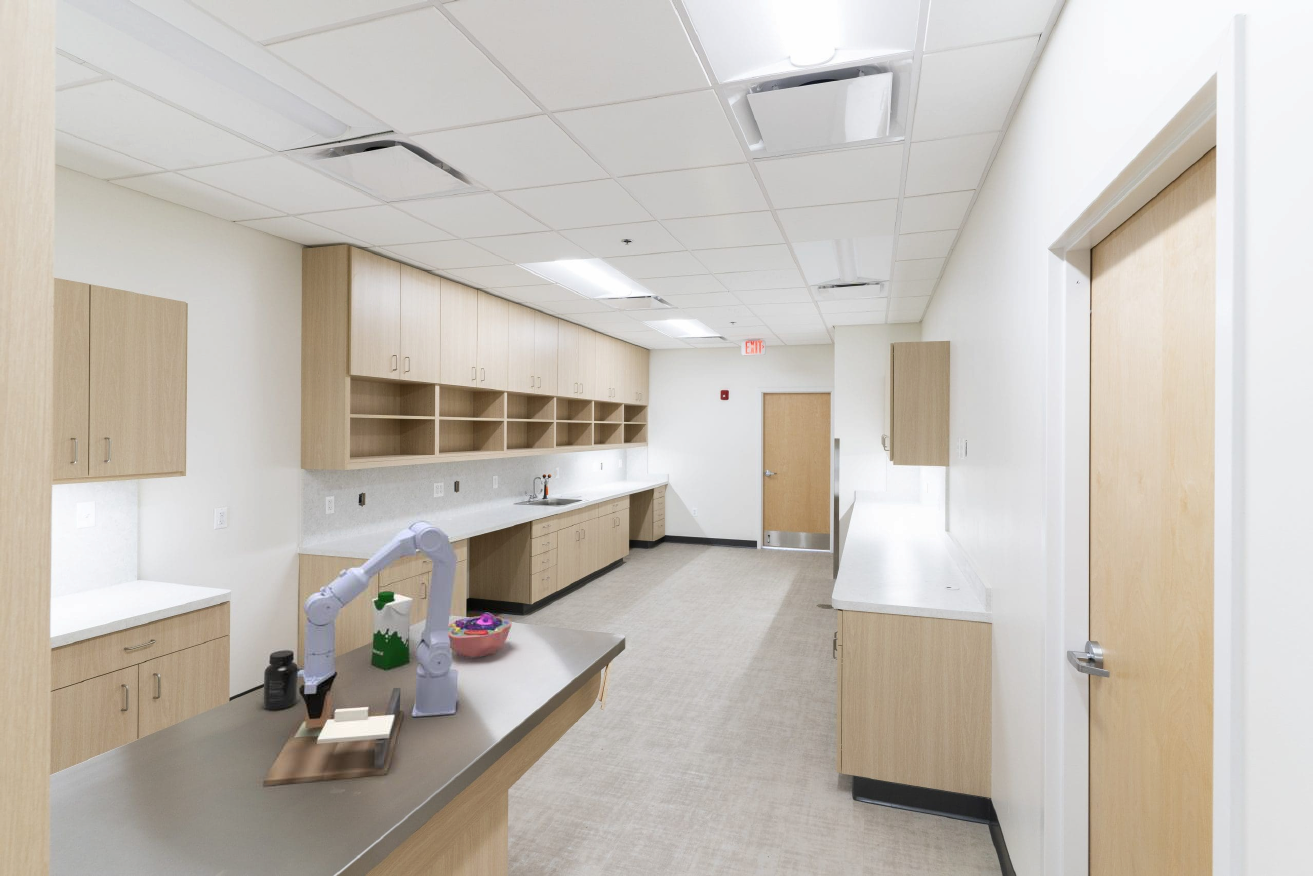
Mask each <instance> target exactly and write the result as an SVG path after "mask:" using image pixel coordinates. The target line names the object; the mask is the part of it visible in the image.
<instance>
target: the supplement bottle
mask: <svg viewBox="0 0 1313 876" xmlns="http://www.w3.org/2000/svg"><path fill="white" fill-rule="evenodd" d="M294 653H295V652H294V651H293V650H289V649H287V650H286V649H285V650H278V651H274V652H271V653H270V654H269V661H268V663H269V664H268V666H267V667H266V668H265V669H264V674H263V707H264V708H265V709H267V710H268V711H279V710H285V709H288V708H290V707H292V706H294V705H295V704H296V703H297V701H298V691H299V689H298V685H299V683H298V681H299V676H298V672H299V666H298V664H297V663H296V662H295V661H294V660H295V658H294V655H295V654H294Z"/></svg>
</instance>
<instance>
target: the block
mask: <svg viewBox="0 0 1313 876" xmlns="http://www.w3.org/2000/svg"><path fill="white" fill-rule="evenodd" d="M332 692H333V690H332V689H331V690H330V691H328V692H327V694H326V697H325V701H324V706H323V711H322V715H321V717H320V718H319V719H309V716H308V712H307V707H306V706H305V717H306V727H305V728H313V727H324V726H325V724H326V722H327V720H330V718H331V715H332V696H333V693H332Z"/></svg>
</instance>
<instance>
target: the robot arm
mask: <svg viewBox="0 0 1313 876" xmlns="http://www.w3.org/2000/svg"><path fill="white" fill-rule="evenodd" d="M417 550H419V552H421V553H422V554H424V555H426V557H428V558H429V559H430V560H431V562H432V563H433V564H432V568H431V569H432V571H431V579H430V587H429V594H428V603H427V611H426V617H425V625H424V629H423V630H422V631H421V634H420V639H419V642H418V644H416V647H415V649H414V656H415V658H416V660H417V662H419V663H418V667H417V668H416V674H415V675H416V677H415V678H416V680H415V682H416V683H415V701H414V704H413V709H412V713H411V717H413V718H416V717H427V716H428V717H432V716H442V715H443V716H445V715H455V714H456V709H457V702H458V701H459V693H458V674H459V673H458V669H453V668H451V666H452V664H453V655H452V653H451V648H450V640H449V635H448V626H449V625H450V615H451V608H452V601H453V599H452V598H453V591H454V584H455V577H456V576H455V575H456V569H457V568H456V566H457V560H458V556H457V554H456V551H455V549H454V548H453V545H452V543H451V542H450V539H449V536H448V534H446V533H445V532H444V531H443V530H441V529H440V528H439V527H437V526H434V525H432V524H431V523H430V522H429V521H426V520H417V521H414V522H413V523H411V525H409V526H408V527H406V528H404V529H402V530H401V531H400V532H399V533H398V534H397V535H395V537H393V538H392V540H390V541H389V542H387V544H385V545H384V546H383V547H381V548H380V550H378V551H377V552H376V553H375V554H374V555H373V556H372V557H371V558H369V559H368V560H367V561H365V563H364V564H362V565H361V566H360V567H350V568H349V569H347V570H346V569H342V570H340V572H339V575H340V576H338V577H336V579H335V580H333V581H332V582H331V583H329V584H328V585H327V586H323V585H322V587H320V588H319V592H315V593H313V594H311V595H310V596H309V597H308V598H307V599H306V601H305V602H304V605H303V611H304V613H305V615H306V616H307V617H306V622H305V629H304V630H305V631H304V658H303V659H304V661H303V669H299V670H298V677H303V678H302V679H303V681H304V684H301V685H300V687H299V689H298V691H299V694H300V696H301V697H302V699H303V701H304V703H305V708H306V707H307V712H308V716H309V719H319V718H320V717H321V715H322V711H323V706H324V701H325V697H326V694H327V692H328V691H331V690H332V687H333V683H334V682H335V679H336V678H337V676H338V672H337V671H336V667H335V659H336V658H335V655H336V653H335V650H336V648H335V647H336V626H335V621H336V619H337V617H338V616H339V613H340V610H341V609H343V608H344V607H346V605H348V604H349V603H350V602H352V601H353V600H354V599H356V597H358V596H359V595H360V594H362V593H363V592H364V591H365V590H366V589H368V587H369V583H370V580H371V579H372V578H374V577H375V575H377V574H379V573H380V572H381V571H382V570H384V569H385V568H387V567H388V566H389V565H391V564H392V563H394V562H395V561H396V560H398V559H399V558H400V557H403V556H416V555H418V553H417Z"/></svg>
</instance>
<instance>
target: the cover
mask: <svg viewBox="0 0 1313 876" xmlns="http://www.w3.org/2000/svg"><path fill="white" fill-rule="evenodd" d="M368 713H369V706H365V707H364V706H363V707H351V708H348V707H347V708H336V709H335V711H334V715H335V718H334V719H330V720H327V722H326V724H325V726H324V728H323V729H322V731H321V733H320V735H319V737H318V739H317V744H320V743H333V742H345V741H357V740H370V739H382V738H389V735H390V732H391V728H392V725H393V722H394V717H395V715H385V716H372V717H368Z"/></svg>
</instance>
